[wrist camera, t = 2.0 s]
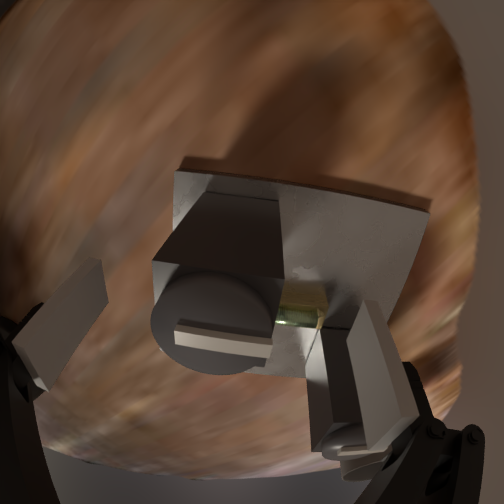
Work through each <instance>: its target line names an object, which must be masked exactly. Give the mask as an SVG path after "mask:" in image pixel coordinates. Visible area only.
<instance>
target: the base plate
mask: <svg viewBox="0 0 504 504" xmlns="http://www.w3.org/2000/svg"><path fill="white" fill-rule="evenodd" d="M203 192H206V193H215V194H224V195H232V196H239V197H247V198H255V199H262V200H269V201H276V202H279V206H280V218H281V231H282V244H283V259H284V274H285V281H284V286H283V290H282V291H289V292H297V293H305V294H313V295H322V296H326V298H327V302H328V306H329V309H328V312H327V315H326V317H325V320H324V323H323V326H322V329H334V330H347V331H351V328H352V326H353V324H354V321H355V319H356V317H357V314H358V312H359V309H360V307H361V304H362V302H363V299H364V300H373V301H378V304H379V306H380V308H381V311H382V313H383V316H384V318H385V320H386V323H387V322H388V320H389V318H390V316H391V313H392V311H393V309H394V307H395V305H396V303H397V300H398V298H399V296H400V294H401V291H402V289H403V287H404V284H405V282H406V280H407V277H408V275H409V272H410V270H411V267H412V265H413V262H414V260H415V257H416V254H417V252H418V249H419V246H420V243H421V240H422V238H423V235H424V232H425V229H426V226H427V223H428V220H429V216H430V213H429V212H427V211H426V210H425V209H421V208H417V207H413V206H409V205H405V204H401V203H396V202H392V201H388V200H383V199H379V198H374V197H370V196H365V195H360V194H355V193H350V192H345V191H340V190H335V189H329V188H324V187H318V186H313V185H307V184H301V183H295V182H288V181H282V180H275V179H268V178H261V177H254V176H246V175H238V174H230V173H221V172H212V171H202V170H191V169H180V168H178V169H177V170H175V172H174V197H173V231H174V229H175V228H176V227H177V225H178V224H179V223H180V222H181V220H182V219H183V218H184V216H185V215H186V214H187V212H188V211H189V210H190V209H191V207H192V206H193V205H194V203H195V202H196V201H197V200H198V198H199V197H200V196H201V195H202V193H203ZM318 331H319V329H311V328H301V327H292V326H282V325H275V326H274V330H273V334H272V339H273V346H272V350H271V354H270V358H267V359H266V363H265V367H256V366H255V367H253V368H251V369H249V370H247V371H244V372H247V373H256V374H265V375H274V376H285V377H298V378H306V369H305V365H306V363H307V360H308V357H309V355H310V352H311V350H312V347H313V344H314V342H315V339H316V336H317V333H318Z"/></svg>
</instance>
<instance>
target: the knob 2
mask: <svg viewBox="0 0 504 504" xmlns="http://www.w3.org/2000/svg"><path fill="white" fill-rule="evenodd" d="M349 333H350V331H347V330H334V329H319V331H318V333H317V336H316V339H315V342H314V344H313V347H312V350H311V352H310V355H309V357H308V360H307V363H306V365H305V369H306V380H307V392H308V405H309V419H310V435H311V452H322V456H323V457H324V458H326V459H329V460H336V461H342V460H352V459H357V458H361V457H364V456H367V455H370V454H372V453H377V452H384V451H385V450H386V449H387V448H388V447H387V448H385V449H384V450H376V451H367V444H366V438H365V431H364V425H363V420H362V414H361V408H360V403H359V398H358V393H357V387H356V383H355V378H354V373H353V368H352V363H351V359H350V354H349V350H348V346H347V341H346V340H347V337H348V335H349Z"/></svg>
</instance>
